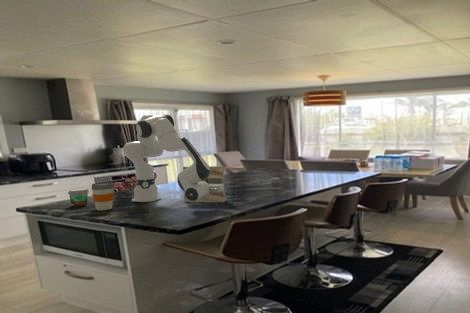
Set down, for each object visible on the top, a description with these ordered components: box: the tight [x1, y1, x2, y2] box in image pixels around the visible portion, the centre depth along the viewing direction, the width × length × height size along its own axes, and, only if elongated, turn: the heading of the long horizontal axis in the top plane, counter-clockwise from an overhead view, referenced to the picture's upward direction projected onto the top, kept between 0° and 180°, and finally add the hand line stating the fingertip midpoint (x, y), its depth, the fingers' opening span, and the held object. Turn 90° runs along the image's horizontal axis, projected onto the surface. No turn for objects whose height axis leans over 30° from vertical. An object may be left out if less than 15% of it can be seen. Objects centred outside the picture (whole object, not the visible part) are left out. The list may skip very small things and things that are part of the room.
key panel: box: [182, 165, 227, 203], centre depth 226 cm, size 7×26×22 cm, turn 76°
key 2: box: [209, 178, 220, 184], centre depth 221 cm, size 5×6×5 cm
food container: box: [67, 188, 90, 208], centre depth 225 cm, size 12×6×10 cm, turn 129°
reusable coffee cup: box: [91, 181, 115, 211], centre depth 214 cm, size 13×12×15 cm
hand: (210, 185), depth 212 cm, fingers closed
